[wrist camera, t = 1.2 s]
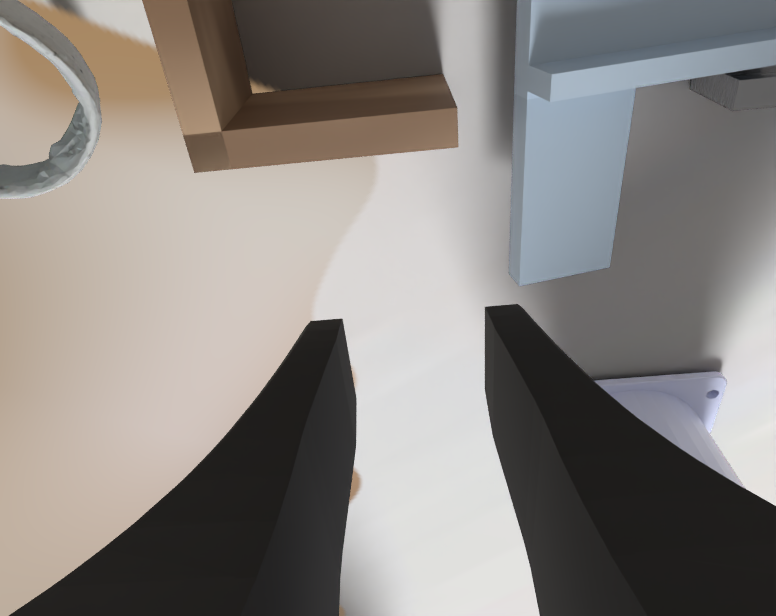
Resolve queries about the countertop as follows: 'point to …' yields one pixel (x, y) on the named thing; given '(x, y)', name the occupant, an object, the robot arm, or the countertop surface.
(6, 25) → the ceramic mug
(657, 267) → the countertop surface
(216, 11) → the pocket
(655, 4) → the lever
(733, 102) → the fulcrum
